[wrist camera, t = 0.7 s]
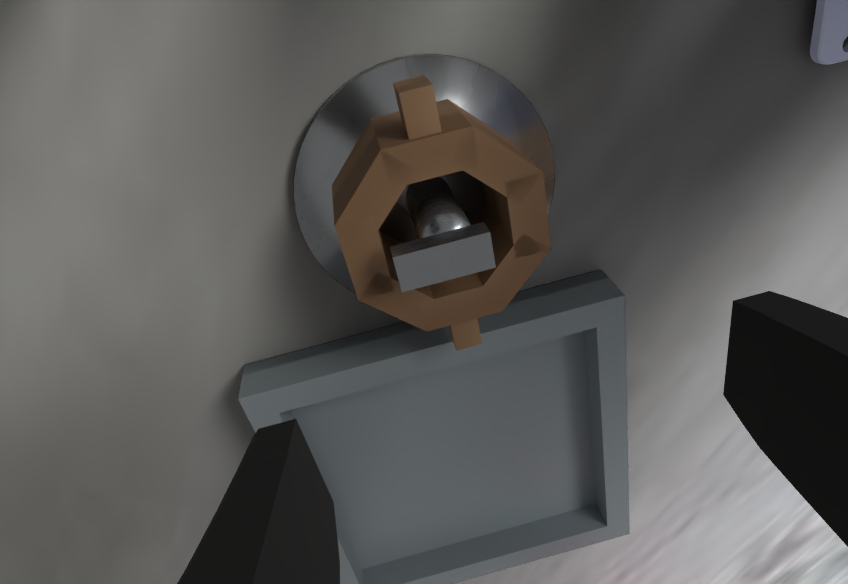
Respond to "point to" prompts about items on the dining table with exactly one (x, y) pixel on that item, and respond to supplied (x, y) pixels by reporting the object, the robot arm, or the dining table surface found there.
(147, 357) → the dining table surface
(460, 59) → the grey round piece
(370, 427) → the tray
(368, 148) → the ring
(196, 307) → the dining table surface
